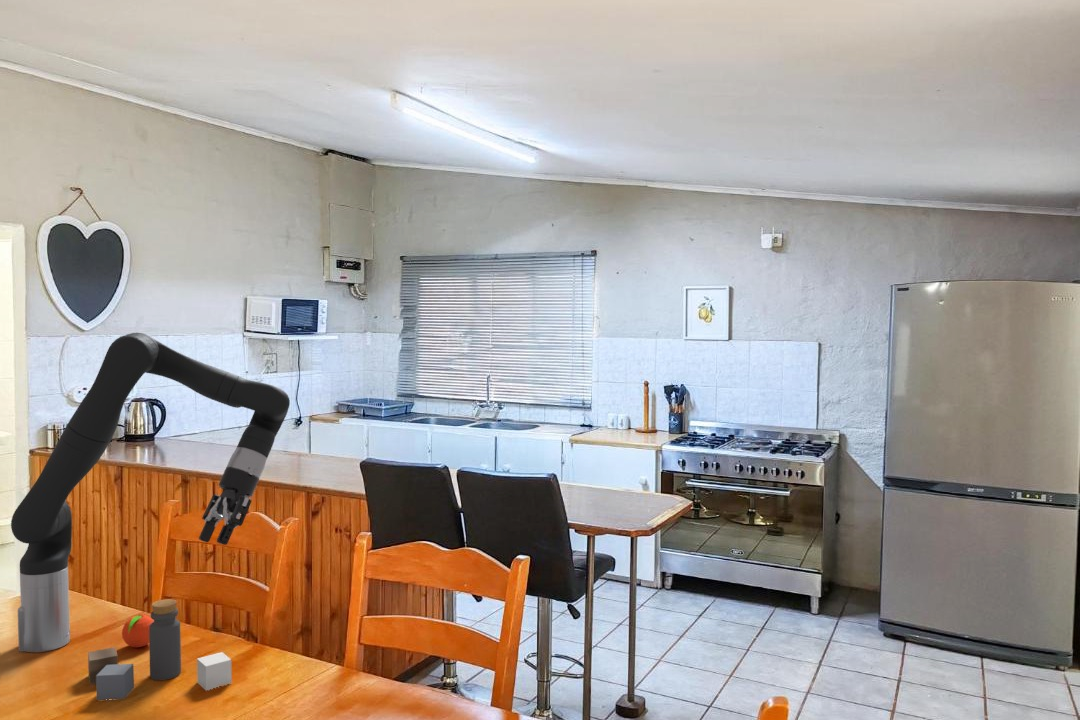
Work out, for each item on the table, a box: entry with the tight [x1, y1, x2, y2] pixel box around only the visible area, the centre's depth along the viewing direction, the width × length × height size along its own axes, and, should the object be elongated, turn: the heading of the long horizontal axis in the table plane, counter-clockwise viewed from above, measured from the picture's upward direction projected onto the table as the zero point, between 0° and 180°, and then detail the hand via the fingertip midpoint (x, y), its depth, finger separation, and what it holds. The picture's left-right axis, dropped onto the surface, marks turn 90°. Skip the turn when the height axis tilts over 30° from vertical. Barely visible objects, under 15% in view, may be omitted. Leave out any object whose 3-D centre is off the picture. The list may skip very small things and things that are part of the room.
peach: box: [121, 614, 154, 648], centre depth 183 cm, size 8×7×7 cm
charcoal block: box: [95, 663, 135, 701], centre depth 160 cm, size 5×5×5 cm
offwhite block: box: [196, 651, 232, 692], centre depth 165 cm, size 5×5×5 cm
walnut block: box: [87, 646, 119, 686], centre depth 168 cm, size 5×5×5 cm
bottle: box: [148, 598, 182, 681], centre depth 169 cm, size 6×6×15 cm
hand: (212, 542), depth 176 cm, fingers open, 8 cm apart
